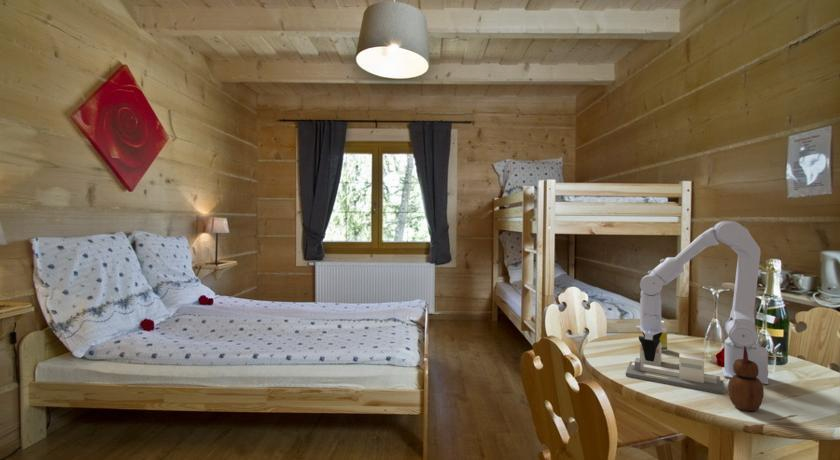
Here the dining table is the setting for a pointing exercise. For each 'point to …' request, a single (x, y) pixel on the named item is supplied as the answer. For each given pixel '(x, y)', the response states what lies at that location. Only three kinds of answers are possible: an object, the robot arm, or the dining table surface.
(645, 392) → the dining table surface
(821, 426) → the dining table surface
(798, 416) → the dining table surface
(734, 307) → the robot arm
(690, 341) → the dining table surface
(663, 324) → the supplement bottle
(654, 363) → the block
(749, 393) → the wooden figurine
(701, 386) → the rail
